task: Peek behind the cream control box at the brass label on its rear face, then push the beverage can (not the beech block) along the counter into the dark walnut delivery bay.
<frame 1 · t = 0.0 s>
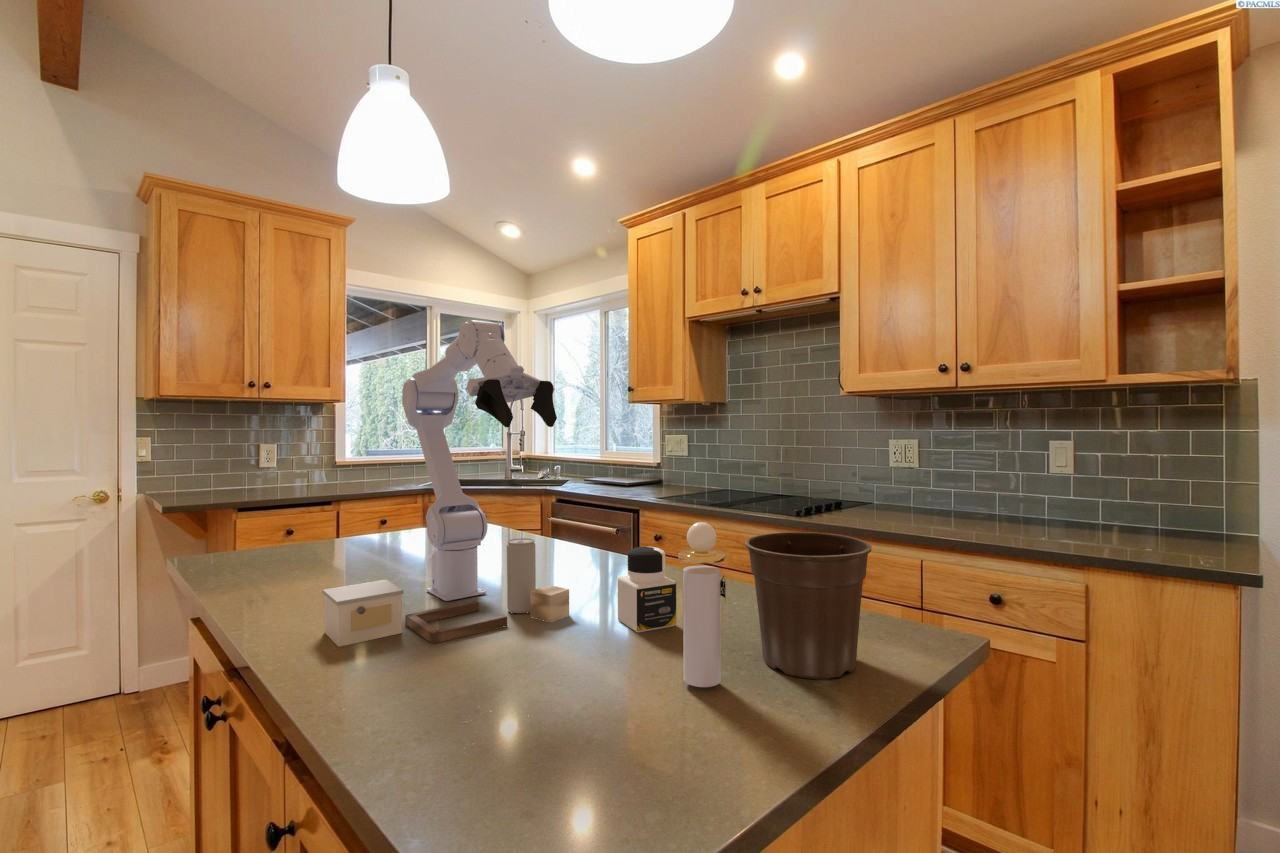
hand: (531, 422, 94), 32 cm above the countertop, tool tilted 50°, fingers open, 7 cm apart
plant pot: (806, 663, 82), on the countertop
perfume bottle: (702, 686, 75), on the countertop
beverage can: (521, 611, 105), on the countertop
control box: (363, 632, 94), on the countertop
delivery bay: (454, 625, 97), on the countertop
beech block: (550, 617, 102), on the countertop
medicine bottle: (646, 624, 98), on the countertop
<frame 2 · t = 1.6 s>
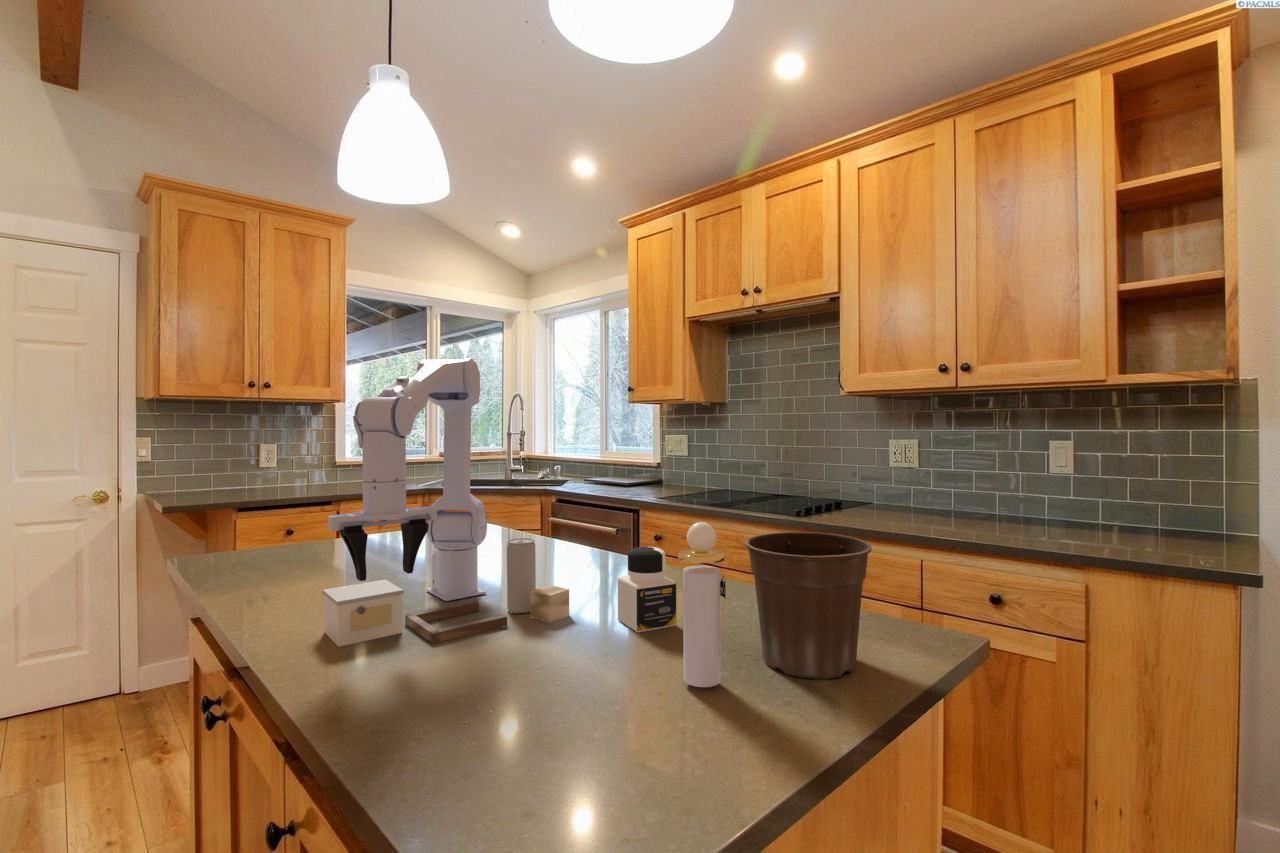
hand: (385, 575, 87), 10 cm above the countertop, tool pointing down, fingers open, 6 cm apart
nothing on the countertop moved.
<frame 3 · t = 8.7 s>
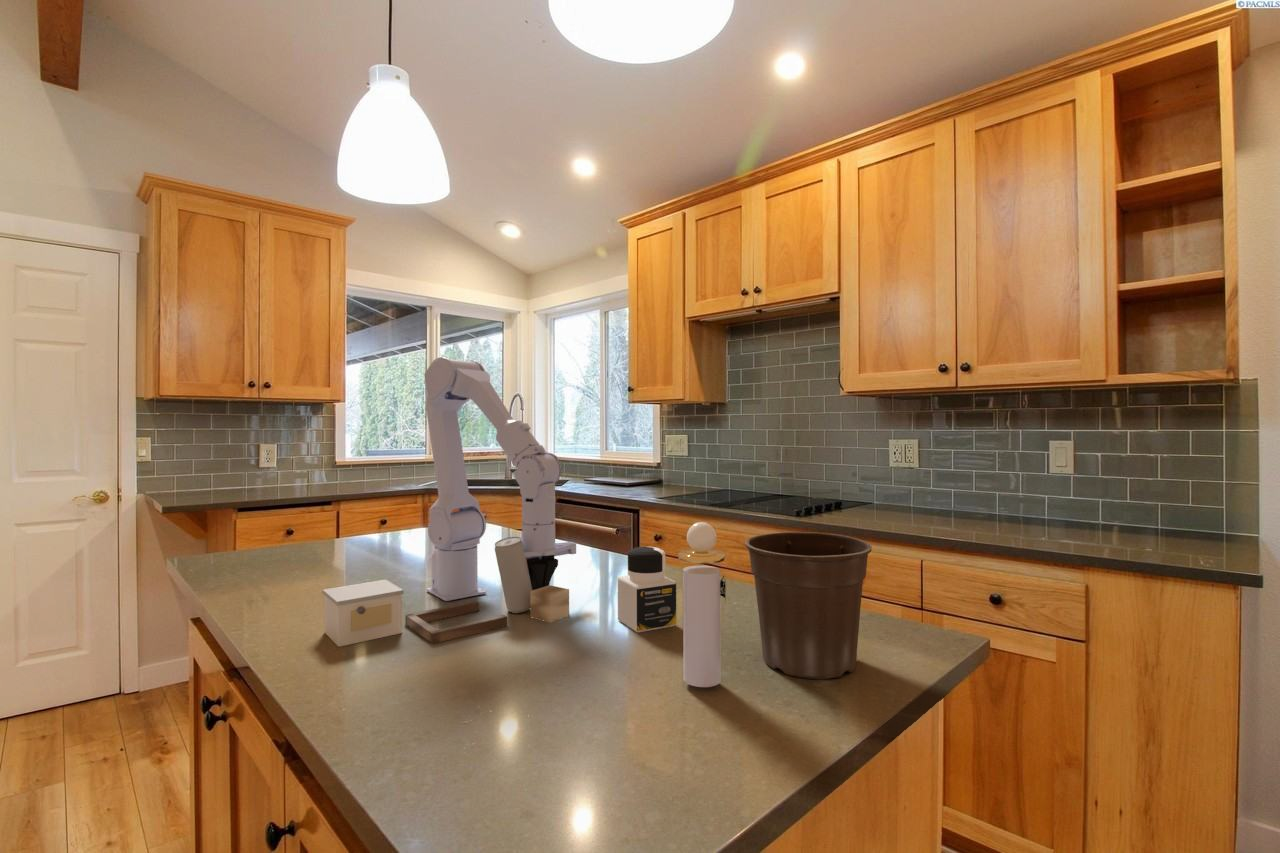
hand: (539, 600, 107), 1 cm above the countertop, tool pointing down, fingers closed
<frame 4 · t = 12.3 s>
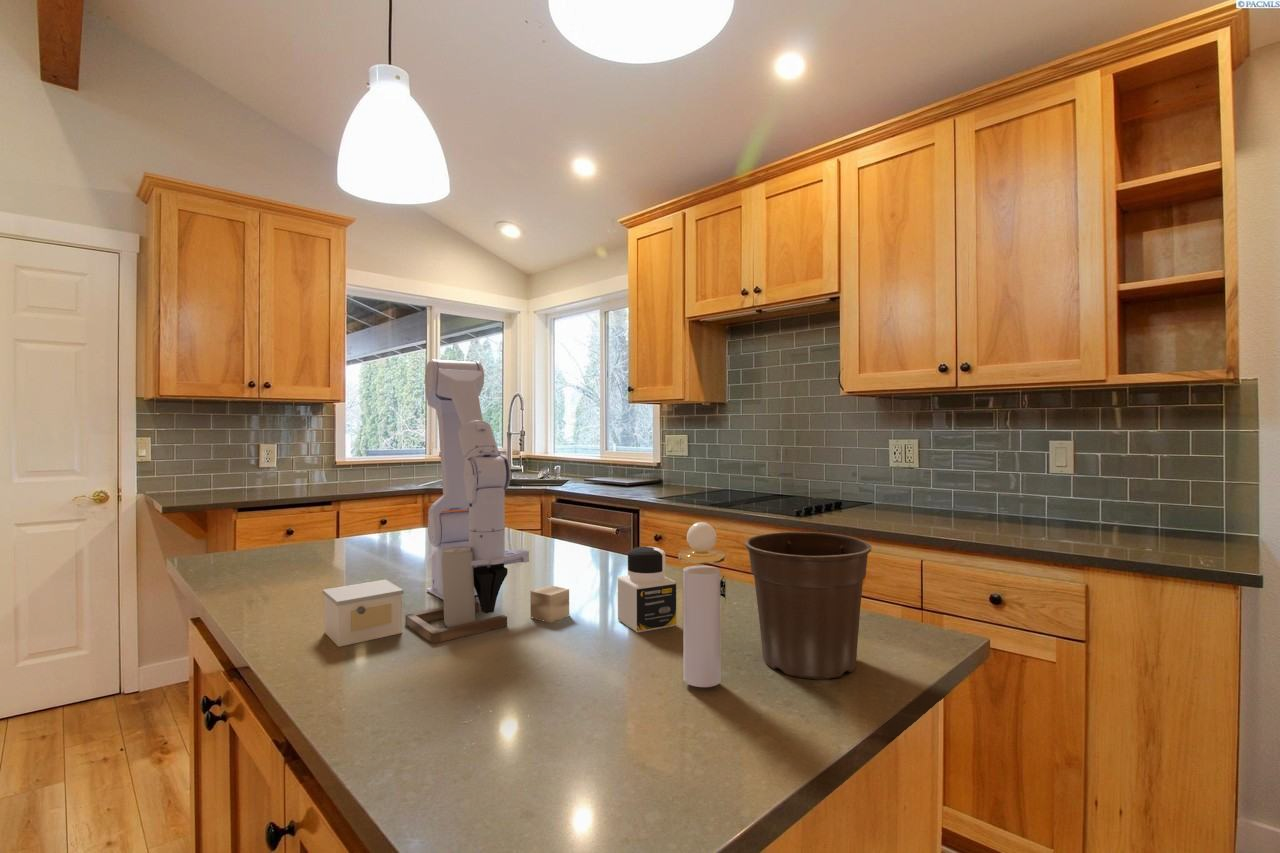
hand: (487, 611, 101), 1 cm above the countertop, tool pointing down, fingers closed
beverage can: (459, 625, 98), on the countertop, touching gripper
everything else where it was.
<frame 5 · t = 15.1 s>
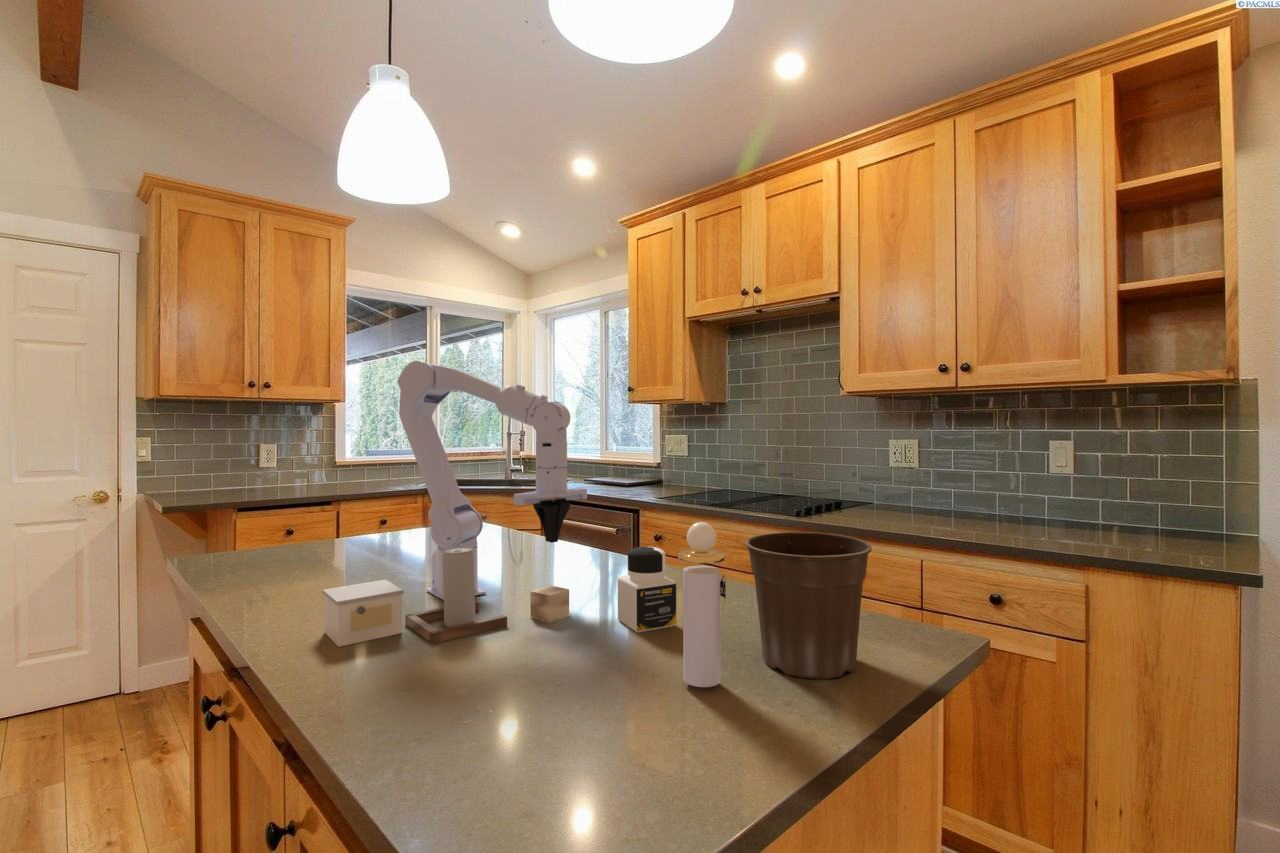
hand: (551, 541, 112), 10 cm above the countertop, tool pointing down, fingers closed
beverage can: (459, 625, 98), on the countertop
everything else where it was.
at the end: beverage can inside the target area (1.1 cm from its centre), on the countertop; beverage can tilted 1°; beverage can moved 11.2 cm from its start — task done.
